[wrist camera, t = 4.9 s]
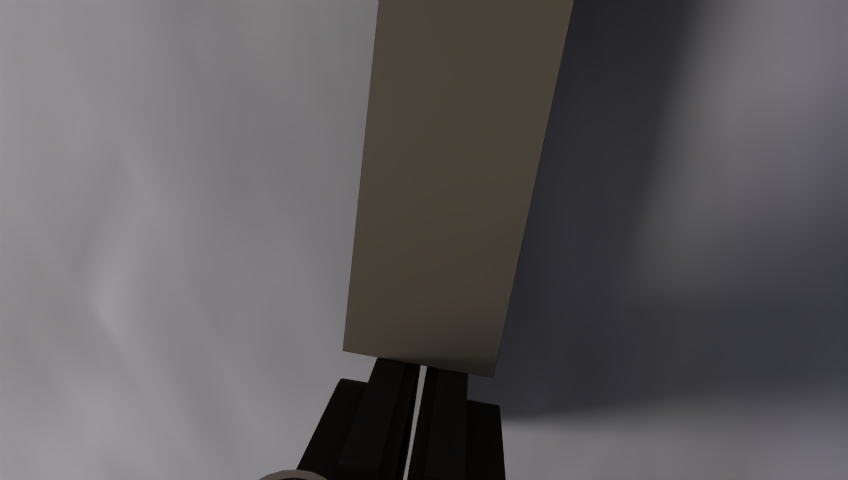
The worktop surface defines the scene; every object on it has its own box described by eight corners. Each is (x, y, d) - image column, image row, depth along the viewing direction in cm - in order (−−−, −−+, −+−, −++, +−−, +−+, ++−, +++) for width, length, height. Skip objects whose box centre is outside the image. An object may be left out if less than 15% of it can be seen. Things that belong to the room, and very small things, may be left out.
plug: (519, 317, 10) (549, 453, 6) (342, 286, 11) (263, 399, 7) (673, -374, 7) (946, -1014, 3) (410, -398, 7) (333, -1023, 3)
